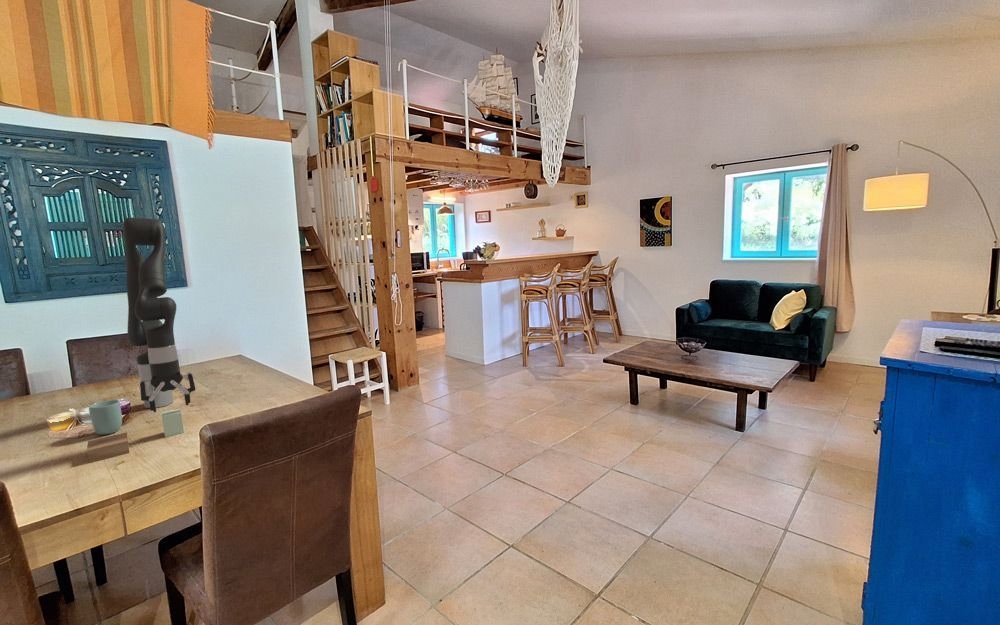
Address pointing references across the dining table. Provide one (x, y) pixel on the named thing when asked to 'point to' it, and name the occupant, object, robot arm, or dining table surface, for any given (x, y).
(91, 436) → the dining table surface
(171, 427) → the green block
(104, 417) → the cup
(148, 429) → the dining table surface
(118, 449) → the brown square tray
